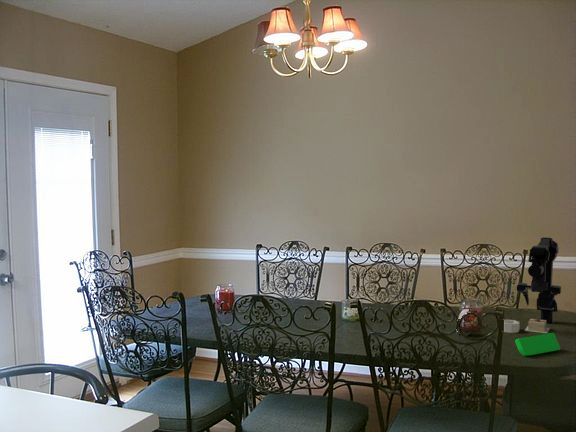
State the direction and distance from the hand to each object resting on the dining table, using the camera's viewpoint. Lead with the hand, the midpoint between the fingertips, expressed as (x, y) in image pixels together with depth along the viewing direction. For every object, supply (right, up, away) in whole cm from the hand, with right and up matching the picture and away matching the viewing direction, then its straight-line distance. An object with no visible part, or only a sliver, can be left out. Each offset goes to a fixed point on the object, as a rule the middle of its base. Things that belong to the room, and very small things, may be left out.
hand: (538, 306), depth 268 cm
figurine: (-35, -13, -2) cm, 38 cm away
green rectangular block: (-15, -15, -28) cm, 35 cm away
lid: (+1, -12, +4) cm, 12 cm away
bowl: (-12, -12, +3) cm, 18 cm away
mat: (+1, -12, +4) cm, 13 cm away
